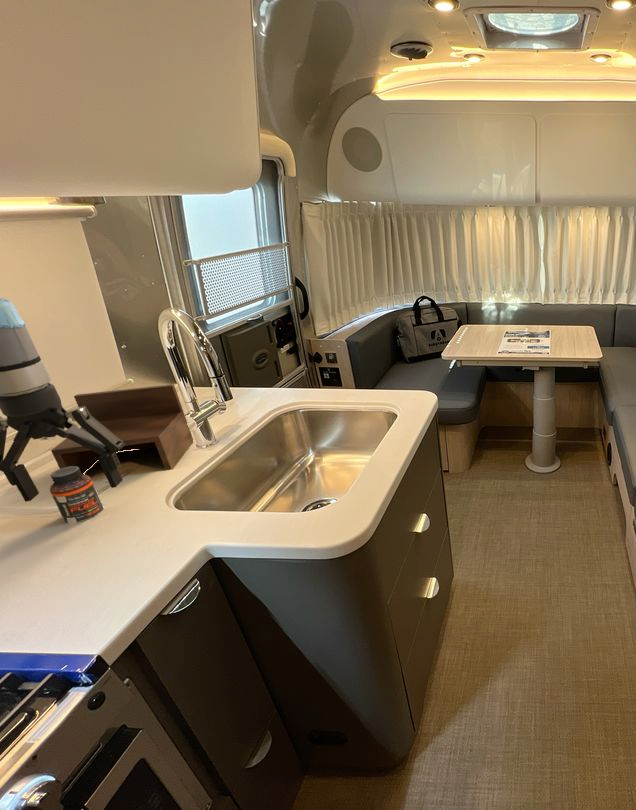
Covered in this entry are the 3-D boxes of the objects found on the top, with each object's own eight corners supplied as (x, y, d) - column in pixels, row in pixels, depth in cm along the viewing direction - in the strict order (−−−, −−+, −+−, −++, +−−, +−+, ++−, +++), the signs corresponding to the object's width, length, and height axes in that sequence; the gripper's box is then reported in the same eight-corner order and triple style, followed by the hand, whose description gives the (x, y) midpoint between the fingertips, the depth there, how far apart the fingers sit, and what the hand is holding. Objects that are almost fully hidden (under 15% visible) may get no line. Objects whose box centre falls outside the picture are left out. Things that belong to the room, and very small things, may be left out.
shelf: (171, 470, 112) (147, 408, 106) (68, 485, 107) (36, 421, 100) (194, 441, 125) (173, 384, 119) (102, 453, 120) (76, 394, 114)
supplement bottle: (79, 532, 92) (54, 482, 87) (60, 526, 94) (34, 476, 89) (114, 514, 97) (91, 466, 92) (95, 508, 99) (73, 460, 94)
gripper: (118, 372, 90) (158, 468, 99) (-51, 390, 84) (8, 492, 93) (97, 386, 84) (142, 488, 93) (-87, 407, 78) (-20, 515, 86)
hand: (75, 490), depth 93 cm, fingers open, 13 cm apart
